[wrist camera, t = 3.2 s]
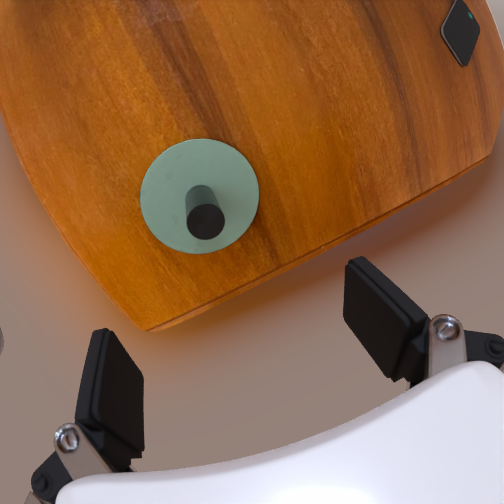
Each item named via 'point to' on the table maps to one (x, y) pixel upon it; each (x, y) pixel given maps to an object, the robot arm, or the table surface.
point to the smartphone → (460, 31)
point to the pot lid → (199, 196)
